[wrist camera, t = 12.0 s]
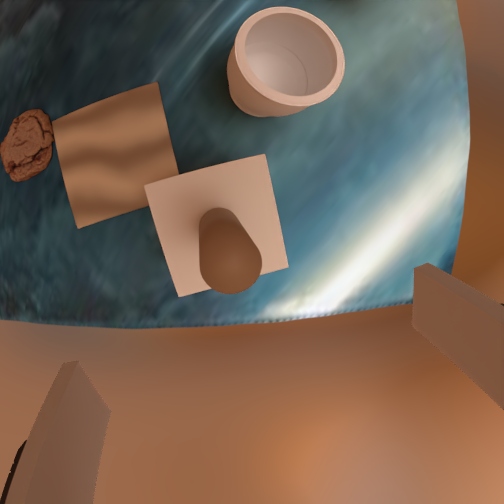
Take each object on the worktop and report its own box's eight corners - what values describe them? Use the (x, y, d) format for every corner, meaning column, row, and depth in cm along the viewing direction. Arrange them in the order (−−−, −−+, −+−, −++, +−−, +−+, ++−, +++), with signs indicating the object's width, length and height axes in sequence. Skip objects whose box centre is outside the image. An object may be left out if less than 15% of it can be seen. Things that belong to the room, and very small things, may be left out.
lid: (145, 184, 28) (112, 200, 17) (263, 154, 29) (302, 150, 18) (179, 293, 32) (172, 360, 21) (286, 264, 33) (329, 316, 22)
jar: (307, 112, 38) (361, 93, 24) (237, 135, 38) (259, 120, 23) (280, 46, 35) (320, 0, 20) (209, 65, 34) (217, 17, 20)
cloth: (52, 122, 32) (51, 121, 32) (157, 82, 33) (157, 81, 33) (78, 228, 37) (77, 228, 37) (184, 195, 39) (184, 195, 38)
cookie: (63, 110, 32) (54, 107, 29) (50, 183, 35) (41, 185, 32) (12, 110, 30) (2, 108, 27) (2, 178, 32) (-9, 180, 30)
